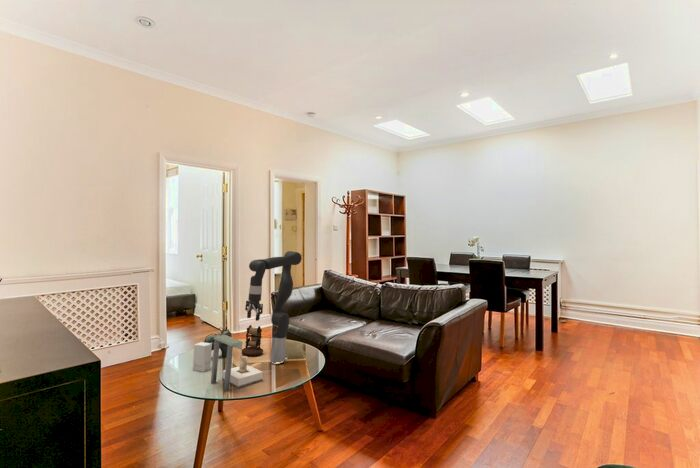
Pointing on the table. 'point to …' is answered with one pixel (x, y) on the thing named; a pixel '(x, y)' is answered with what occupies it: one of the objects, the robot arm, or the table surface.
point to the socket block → (243, 376)
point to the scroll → (253, 341)
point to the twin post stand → (231, 343)
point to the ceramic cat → (221, 345)
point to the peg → (243, 364)
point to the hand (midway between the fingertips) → (253, 319)
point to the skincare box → (202, 356)
